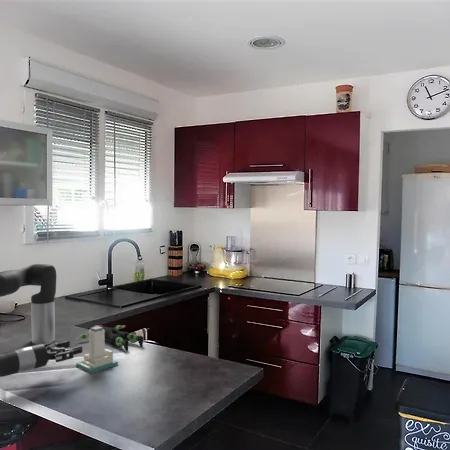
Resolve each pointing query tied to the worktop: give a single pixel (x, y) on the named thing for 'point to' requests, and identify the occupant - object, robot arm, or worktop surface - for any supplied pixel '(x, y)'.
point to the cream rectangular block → (96, 343)
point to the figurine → (118, 336)
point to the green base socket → (98, 362)
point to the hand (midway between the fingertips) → (75, 346)
